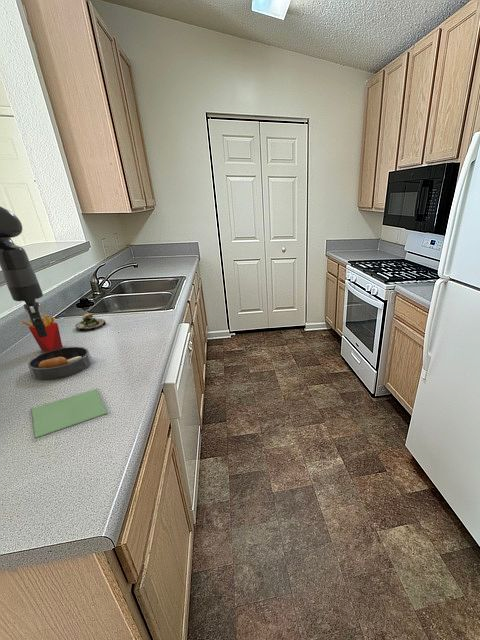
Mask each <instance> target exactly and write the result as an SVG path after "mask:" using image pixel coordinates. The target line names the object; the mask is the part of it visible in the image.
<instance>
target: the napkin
mask: <svg viewBox="0 0 480 640" xmlns="http://www.w3.org/2000/svg"><path fill="white" fill-rule="evenodd" d="M31 414H32V423H33V430H34V437H35V439H38V438H40V437H43V436H46V435H50V434H52V433H55V432H59V431H61V430H63V429H66V428H69V427H73V426H76V425H79V424H81V423H84V422H87V421H90V420H93V419H95V418H98V417H99V418H100V417H101V416H104V415H107V414H108V410H107V409H106V407H105V404H104V402H103V400H102V398H101V395H100V394H99V392H98V389H97V388H94V389H90V390H88V391H84V392H80V393H78V394H74V395H71V396H68V397H67V396H66V397H65V398H61V399H58V400H55V401H51V402H48V403H45V404H41V405H38V406H35V407H32V408H31Z"/></svg>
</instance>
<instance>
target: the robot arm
mask: <svg viewBox="0 0 480 640" xmlns="http://www.w3.org/2000/svg"><path fill="white" fill-rule="evenodd" d="M22 232H23V224H22V222H21V220H20V219H19V217H17V215H15V213H13V212H12V211H10V210H8V209H6V208H4V207H3V206H0V269H1V272H2V276H3V279H4V280H5V284H6V286H7V289H8V291H9V293H10V296H11V298H12V300H13V301H15V302H24V304H23V309H24V311H25V312H26V315H27V314H28V316H27V318H28V320H29V319H30V320H31V321H32V323H33V324H32V323H31V325H33V326H34V327H35V328H36V331H37V333H38V336H39V337H40V338H42V337H46V336H47V332H46V330H45V325H44V322H43V320H42V318H43V317H44V315H43V316H42V314H43V312H42V307H41V303H40V302H39V301H36V299H37V300H38V299H40V298H42V297H43V296H44V293H43V291H42V287H41V285H40V282H39V279H38V278H37V275H36V273H35V270H34V269H33V267H32V264H31V261H30V259H29V257H28V254H27V251H26V250H25V249H24V247H22V246H20V245H17V244H15V242H14V241H13V240H12V238H16V237H18V236H20V235H21V234H22Z"/></svg>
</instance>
